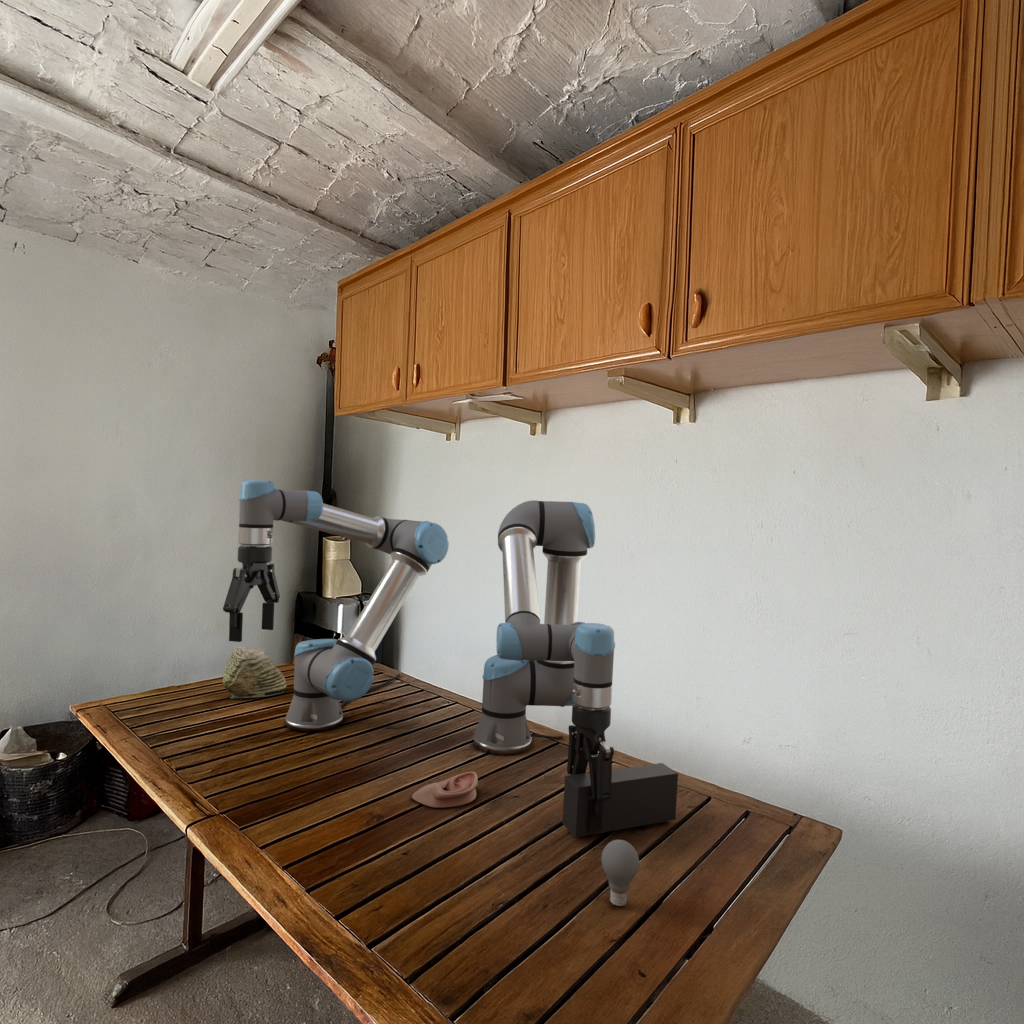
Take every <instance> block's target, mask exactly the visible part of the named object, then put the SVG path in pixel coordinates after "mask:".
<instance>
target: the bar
mask: <svg viewBox="0 0 1024 1024" xmlns="http://www.w3.org/2000/svg"><path fill="white" fill-rule="evenodd" d="M678 780H679V773H678V772H677V771H675V770H674V769H672V768H671V767H669V766H667V765H666V764H664V762H659V763H651V764H644V765H637V766H635V765H634V766H629V767H622V768H621V767H620V768H614V769H613V768H612V783H611V799H606V800H604V801H603V815H602V830H600V831H595V832H590V833H589V832H588V831H587V826H588V804H589V798H588V796H592V794H591V783H590V772H586V773H583V774H575V775H571V774H567V775H565V776H564V785H563V786H564V788H563V792H564V793H563V806H562V807H563V808H562V809H563V810H562V823H561V824H562V825H563V826H564V827H565V828H566V829H567V831H569V832H570V834H572V835H573V836H574V838H580V837H586V836H591V835H598V834H602V833H608V832H614V831H620V830H624V829H631V828H637V827H642V826H648V825H654V824H658V823H666V822H671V821H675V820H676V814H677V800H678V799H677V798H678V797H677V796H678Z"/></svg>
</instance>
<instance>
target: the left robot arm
mask: <svg viewBox="0 0 1024 1024" xmlns="http://www.w3.org/2000/svg"><path fill="white" fill-rule="evenodd" d="M238 501H239V510H238V511H239V512H238V513H239V514H238V515H239V516H238V519H239V520H238V521H239V522H238V532H237V534H238V535H237V543H238V544H239V546H238V547H237V561H238V562H239V563H241V565H242V566H241V568H239V567H235V568H233V570H232V578H231V581H230V584H229V588H228V591H227V594H226V597H225V600H224V604H223V607H222V611H223V612H224V613H228V614H229V616H228V617H229V618H228V621H229V623H228V626H229V627H228V628H229V629H228V642H233V643H235V642H236V643H242V642H243V622H244V621H243V619H244V618H243V617H244V612H242V609H243V607H244V604H245V602H246V601H247V598H248V596H249V593H250V592H251V590H252V589H254V587H255V586H257V589H258V590H259V592H260V594H261V596H262V598H263V600H264V602H262V605H261V607H262V608H261V610H262V611H261V630H265V631H274V621H275V604H278V603H279V602H280V597H281V594H280V590H279V585H278V581H277V577H276V573H275V564H274V563H271V562H272V561H273V547H272V546H271V545H272V544H273V536H274V532H273V531H274V529H273V528H274V521H277V522H279V521H281V522H284V523H285V522H286V523H290V524H293V525H298V526H300V527H306V528H308V529H311V530H316V531H320V532H324V533H328V534H332V535H335V536H339V537H341V538H346V539H350V540H353V541H357V542H360V543H361V542H362V543H365V544H366V546H367V547H368V548H371V549H374V550H378V551H380V552H383V553H385V554H387V555H390V558H391V563H390V564H389V566H388V568H387V569H386V571H385V573H384V574H383V575H382V577H381V579H380V581H379V583H378V584H377V586H376V587H375V589H374V591H373V592H372V594H371V596H370V597H369V599H368V601H367V602H366V604H365V605H364V607H363V609H362V611H361V612H360V613H359V615H358V616H357V618H356V620H355V621H354V623H353V625H352V627H351V628H350V630H349V632H348V633H347V634H346V636H341V637H340V638H338V639H336V638H319V639H308V640H303V641H300V642H297V644H296V646H295V650H294V655H293V657H294V672H293V695H292V696H293V697H292V699H291V702H290V704H289V708H288V711H287V713H286V715H285V726H286V728H287V729H289V730H291V731H294V732H295V731H296V732H301V733H316V732H325V731H329V730H332V729H335V728H337V727H339V726H340V725H342V723H343V722H344V713H343V709H342V708H343V707H344V706H345V705H346V703H348V702H349V703H350V702H353V701H357V700H359V699H360V698H362V697H363V696H364V695H366V693H368V692H371V691H373V690H376V689H378V688H381V687H383V686H385V685H387V684H389V683H391V682H392V681H394V680H396V679H397V678H398V677H400V676H401V674H400V673H397V674H396V675H395V676H394V677H392V678H391V679H389V680H386V681H385V682H382V683H380V684H378V685H375V686H373V687H371V686H372V685H373V682H374V678H375V675H374V672H375V671H374V668H373V666H374V665H375V663H376V661H377V656H376V650H377V649H378V648H379V645H380V644H381V642H382V641H383V638H384V636H385V635H386V633H387V632H388V630H389V628H390V627H391V625H392V623H393V622H394V619H395V618H396V616H397V614H398V612H399V611H400V609H401V607H402V606H403V604H404V603H405V601H406V599H407V597H408V596H409V594H410V593H411V590H412V589H413V587H414V585H415V584H416V582H417V580H418V579H419V577H422V576H426V575H427V573H428V572H429V570H430V569H431V567H432V565H436V564H439V563H441V562H442V561H443V560H444V559H445V558H446V556H447V554H448V552H449V547H450V546H449V544H450V543H449V540H448V534H447V532H446V530H445V529H444V528H443V526H441V524H439V523H436V522H432V521H429V520H424V521H423V520H411V519H397V518H396V519H394V518H386V517H383V516H380V515H377V516H374V517H371V516H368V515H364V514H361V513H357V512H354V511H351V510H347V509H344V508H341V507H337V506H334V505H330V504H327V503H324V500H323V497H322V495H321V494H320V493H319V492H317V491H315V490H314V491H313V490H309V489H307V490H300V489H299V490H296V489H278V488H276V484H275V482H274V481H273V480H258V479H244V480H243V481H242V482H241V484H240V489H239V498H238ZM341 702H342V703H341Z"/></svg>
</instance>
